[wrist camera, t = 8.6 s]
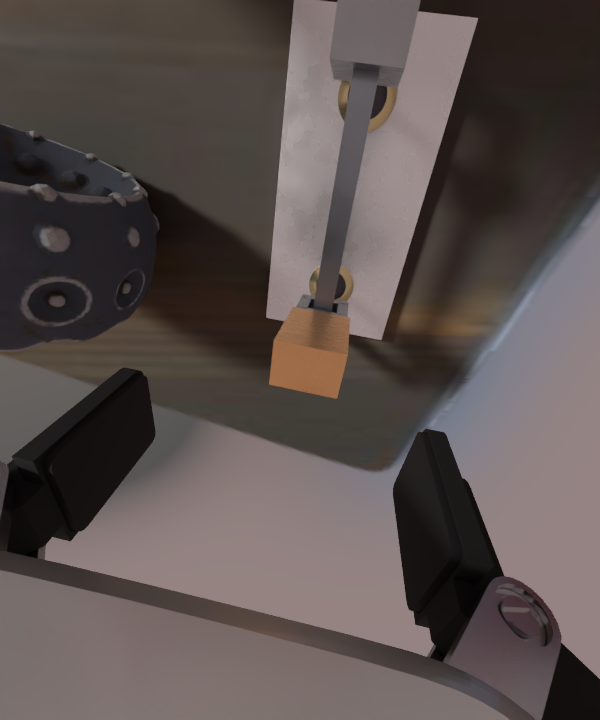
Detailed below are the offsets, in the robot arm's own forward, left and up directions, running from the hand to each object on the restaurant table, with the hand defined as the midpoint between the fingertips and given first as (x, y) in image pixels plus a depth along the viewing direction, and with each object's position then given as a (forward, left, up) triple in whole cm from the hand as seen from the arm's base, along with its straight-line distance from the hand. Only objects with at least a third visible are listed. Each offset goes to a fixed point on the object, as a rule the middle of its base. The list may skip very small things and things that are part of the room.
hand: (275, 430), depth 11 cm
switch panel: (-6, 0, -23) cm, 24 cm away
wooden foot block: (+1, 0, -20) cm, 20 cm away
